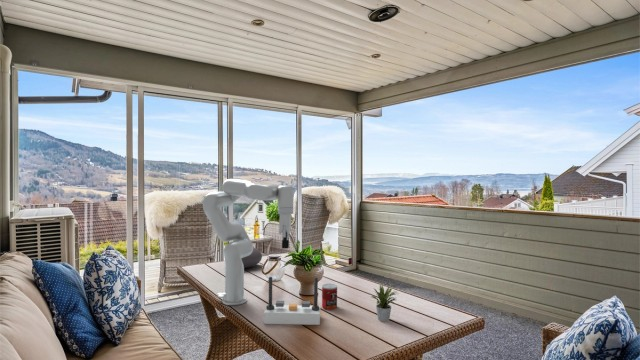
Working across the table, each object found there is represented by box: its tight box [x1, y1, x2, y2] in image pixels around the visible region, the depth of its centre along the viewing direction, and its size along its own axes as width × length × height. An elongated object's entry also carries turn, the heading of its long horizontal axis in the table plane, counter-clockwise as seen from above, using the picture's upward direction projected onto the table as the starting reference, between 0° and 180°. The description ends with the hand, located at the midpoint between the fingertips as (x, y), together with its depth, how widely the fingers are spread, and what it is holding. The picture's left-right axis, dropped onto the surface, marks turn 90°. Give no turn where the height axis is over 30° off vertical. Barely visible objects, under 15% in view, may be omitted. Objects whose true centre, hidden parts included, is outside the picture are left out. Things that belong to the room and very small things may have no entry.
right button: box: [301, 300, 311, 307], centre depth 169 cm, size 4×4×2 cm
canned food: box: [321, 283, 338, 311], centre depth 186 cm, size 8×8×11 cm
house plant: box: [370, 284, 401, 323], centre depth 169 cm, size 14×14×16 cm
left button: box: [275, 300, 285, 307], centre depth 169 cm, size 4×4×2 cm
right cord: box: [311, 277, 321, 311], centre depth 169 cm, size 4×4×15 cm
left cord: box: [265, 276, 275, 310], centre depth 169 cm, size 4×4×15 cm
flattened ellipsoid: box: [241, 246, 263, 269], centre depth 265 cm, size 25×25×15 cm
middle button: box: [288, 303, 298, 310], centre depth 169 cm, size 4×4×2 cm
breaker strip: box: [263, 304, 321, 326], centre depth 169 cm, size 25×10×5 cm, turn 89°
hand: (285, 247), depth 180 cm, fingers closed
